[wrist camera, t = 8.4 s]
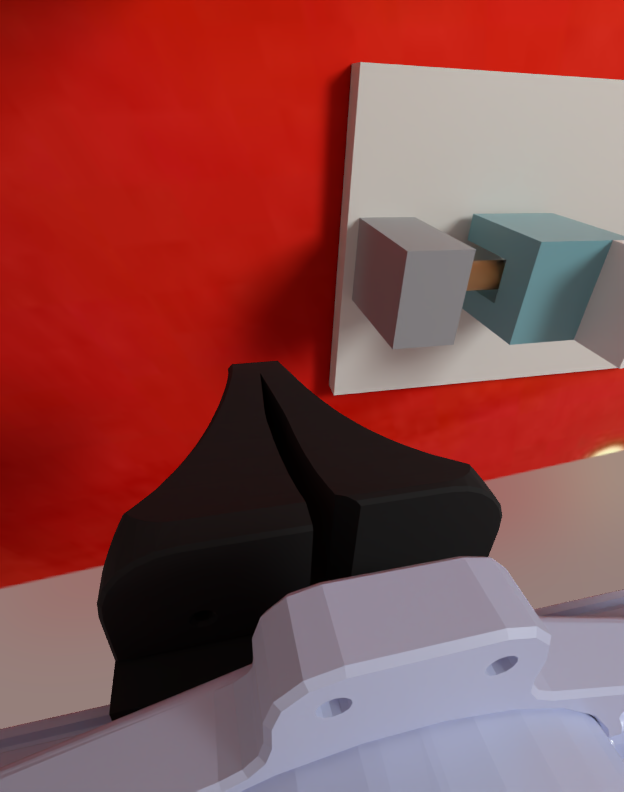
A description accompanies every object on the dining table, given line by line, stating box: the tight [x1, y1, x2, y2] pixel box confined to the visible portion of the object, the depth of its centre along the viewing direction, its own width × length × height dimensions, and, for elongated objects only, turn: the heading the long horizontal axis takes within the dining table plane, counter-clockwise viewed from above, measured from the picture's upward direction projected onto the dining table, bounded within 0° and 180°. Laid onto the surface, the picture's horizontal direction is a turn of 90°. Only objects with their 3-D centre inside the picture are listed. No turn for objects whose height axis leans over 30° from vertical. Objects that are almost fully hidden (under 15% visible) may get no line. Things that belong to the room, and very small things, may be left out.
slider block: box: [462, 213, 624, 368], centre depth 18 cm, size 4×4×7 cm
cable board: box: [329, 62, 624, 395], centre depth 20 cm, size 14×20×6 cm
